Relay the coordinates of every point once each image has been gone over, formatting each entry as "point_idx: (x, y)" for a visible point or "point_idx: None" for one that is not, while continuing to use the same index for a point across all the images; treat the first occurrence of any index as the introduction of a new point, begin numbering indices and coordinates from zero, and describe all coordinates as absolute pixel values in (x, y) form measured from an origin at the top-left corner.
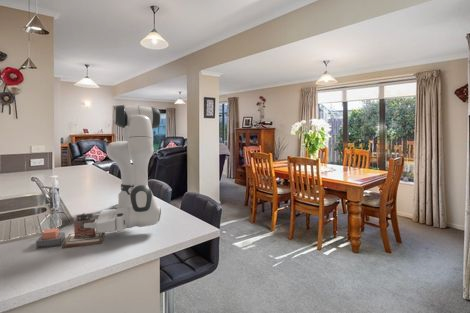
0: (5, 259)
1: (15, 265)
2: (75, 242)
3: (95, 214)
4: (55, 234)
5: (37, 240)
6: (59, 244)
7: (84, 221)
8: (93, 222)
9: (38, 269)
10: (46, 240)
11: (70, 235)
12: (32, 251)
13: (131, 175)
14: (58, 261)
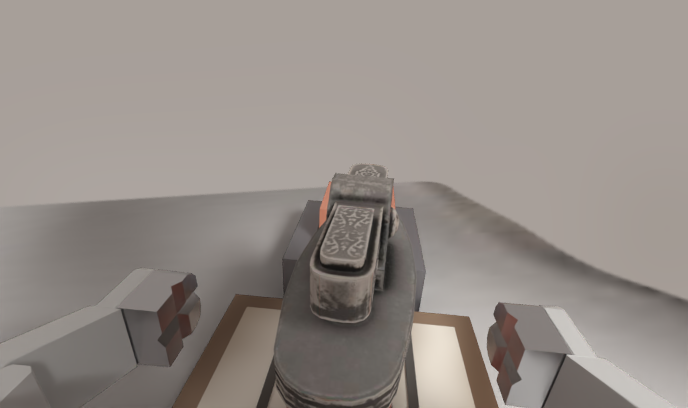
0: (257, 192)
1: (171, 209)
2: (239, 361)
3: (661, 403)
4: (319, 224)
5: (320, 202)
6: (284, 287)
7: (292, 277)
8: (19, 365)
9: (29, 254)
10: (299, 222)
11: (433, 325)
12: (286, 228)
13: None
14: (25, 308)
